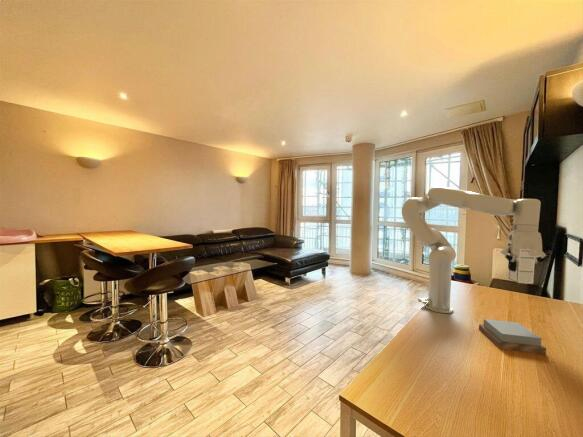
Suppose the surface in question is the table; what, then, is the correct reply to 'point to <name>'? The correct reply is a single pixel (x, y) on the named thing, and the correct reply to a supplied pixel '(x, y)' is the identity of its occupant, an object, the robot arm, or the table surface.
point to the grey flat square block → (512, 346)
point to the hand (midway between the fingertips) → (521, 271)
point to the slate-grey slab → (512, 332)
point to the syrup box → (523, 268)
